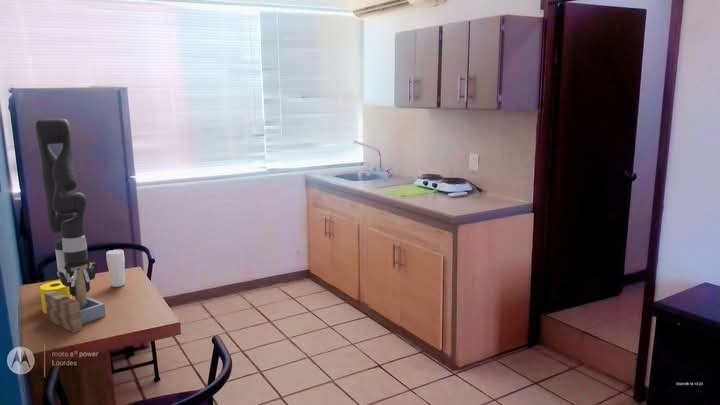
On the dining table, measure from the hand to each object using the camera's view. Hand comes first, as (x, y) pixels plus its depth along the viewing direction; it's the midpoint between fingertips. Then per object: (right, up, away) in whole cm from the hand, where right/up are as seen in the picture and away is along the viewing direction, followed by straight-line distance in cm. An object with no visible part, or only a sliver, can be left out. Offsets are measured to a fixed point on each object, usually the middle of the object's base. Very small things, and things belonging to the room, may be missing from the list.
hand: (80, 293), depth 189 cm
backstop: (-3, -10, -4) cm, 11 cm away
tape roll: (-14, -8, +10) cm, 19 cm away
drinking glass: (-2, -3, +34) cm, 34 cm away
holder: (0, -9, +2) cm, 9 cm away
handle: (0, -4, +1) cm, 4 cm away
